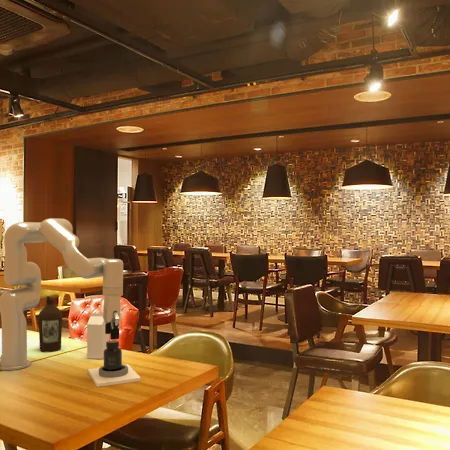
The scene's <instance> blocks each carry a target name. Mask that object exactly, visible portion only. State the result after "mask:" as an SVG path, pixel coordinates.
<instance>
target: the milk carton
mask: <svg viewBox="0 0 450 450" xmlns="http://www.w3.org/2000/svg"><path fill="white" fill-rule="evenodd" d="M105 324H107V323H106V321H105V320H104V319H103V313H90V317H89V319H88V321H87V323H86V346H87V347H86V353H87V354H86V355H87V357H86V359H94V360H95V359H96V360H97V359H98V360H102V359H103V360H104V350H105V349H106V348H107V347H106V342H107V341H110V334H105Z"/></svg>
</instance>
